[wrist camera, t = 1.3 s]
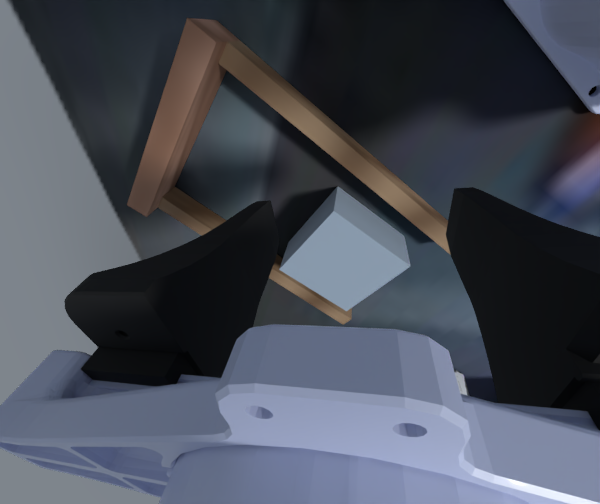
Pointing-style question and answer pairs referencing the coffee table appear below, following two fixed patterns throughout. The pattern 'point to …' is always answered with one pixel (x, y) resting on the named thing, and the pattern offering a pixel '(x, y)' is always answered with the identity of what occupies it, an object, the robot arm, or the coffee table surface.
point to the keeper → (345, 251)
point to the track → (286, 101)
